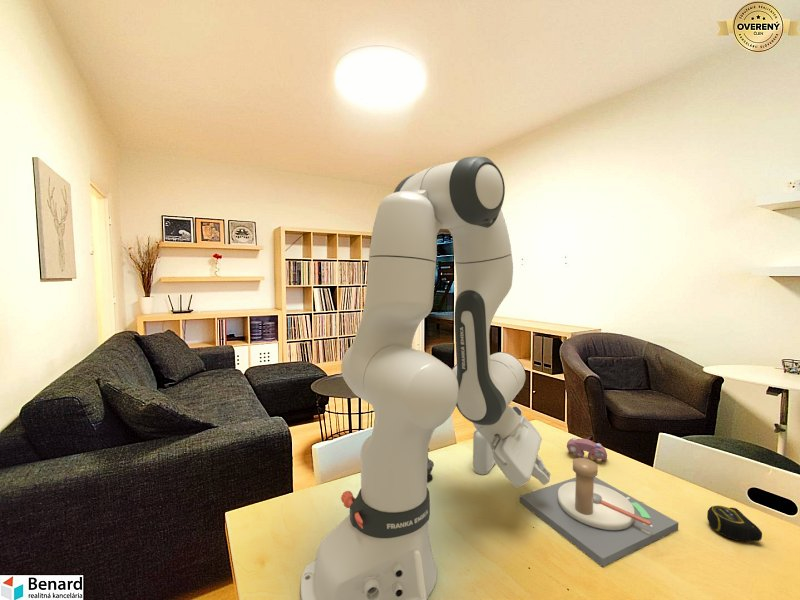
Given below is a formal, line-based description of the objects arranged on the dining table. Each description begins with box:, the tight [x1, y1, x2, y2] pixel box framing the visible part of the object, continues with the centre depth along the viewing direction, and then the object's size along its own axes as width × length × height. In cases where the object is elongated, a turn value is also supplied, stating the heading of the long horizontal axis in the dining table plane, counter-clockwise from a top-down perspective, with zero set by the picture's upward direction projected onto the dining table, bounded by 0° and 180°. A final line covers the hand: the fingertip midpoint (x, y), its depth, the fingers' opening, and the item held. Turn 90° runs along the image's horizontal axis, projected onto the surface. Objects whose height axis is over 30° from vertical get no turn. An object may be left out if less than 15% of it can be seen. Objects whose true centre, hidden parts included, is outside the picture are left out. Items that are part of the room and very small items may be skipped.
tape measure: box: [706, 505, 763, 542], centre depth 71 cm, size 7×7×4 cm
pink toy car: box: [566, 437, 608, 462], centre depth 100 cm, size 10×5×7 cm, turn 55°
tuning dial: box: [558, 457, 651, 530], centre depth 74 cm, size 17×14×11 cm
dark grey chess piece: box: [427, 448, 435, 484], centre depth 90 cm, size 6×6×12 cm
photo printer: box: [472, 427, 496, 475], centre depth 96 cm, size 10×4×12 cm, turn 148°
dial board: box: [519, 476, 679, 568], centre depth 76 cm, size 22×20×2 cm
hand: (547, 480), depth 76 cm, fingers closed
